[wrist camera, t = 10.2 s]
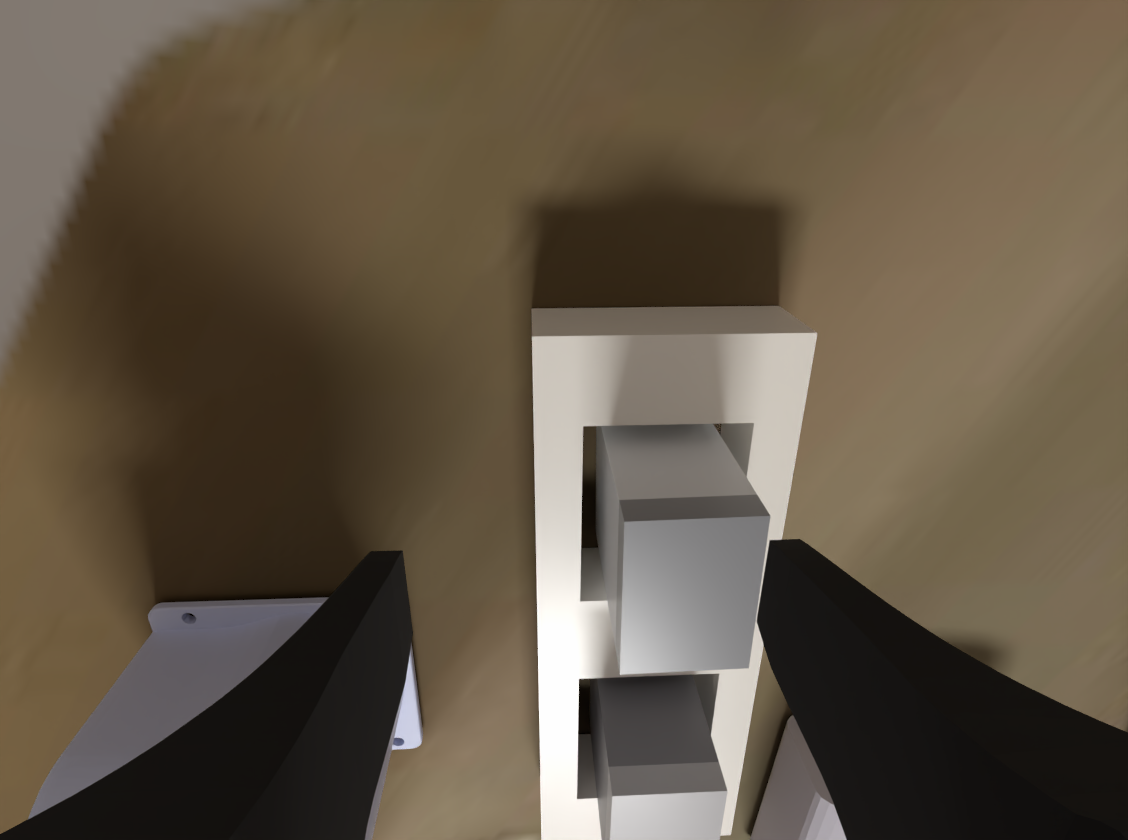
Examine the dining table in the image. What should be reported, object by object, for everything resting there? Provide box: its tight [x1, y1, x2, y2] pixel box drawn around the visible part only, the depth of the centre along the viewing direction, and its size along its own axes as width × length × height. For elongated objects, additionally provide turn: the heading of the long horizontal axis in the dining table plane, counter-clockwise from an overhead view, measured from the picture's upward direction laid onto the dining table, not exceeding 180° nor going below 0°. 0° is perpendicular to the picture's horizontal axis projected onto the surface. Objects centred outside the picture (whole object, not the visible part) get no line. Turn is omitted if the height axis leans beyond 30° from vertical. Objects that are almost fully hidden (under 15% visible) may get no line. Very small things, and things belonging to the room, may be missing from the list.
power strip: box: [531, 306, 817, 840], centre depth 23 cm, size 8×22×4 cm, turn 0°
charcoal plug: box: [589, 675, 728, 840], centre depth 24 cm, size 4×5×7 cm
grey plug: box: [595, 424, 770, 675], centre depth 20 cm, size 4×5×7 cm
